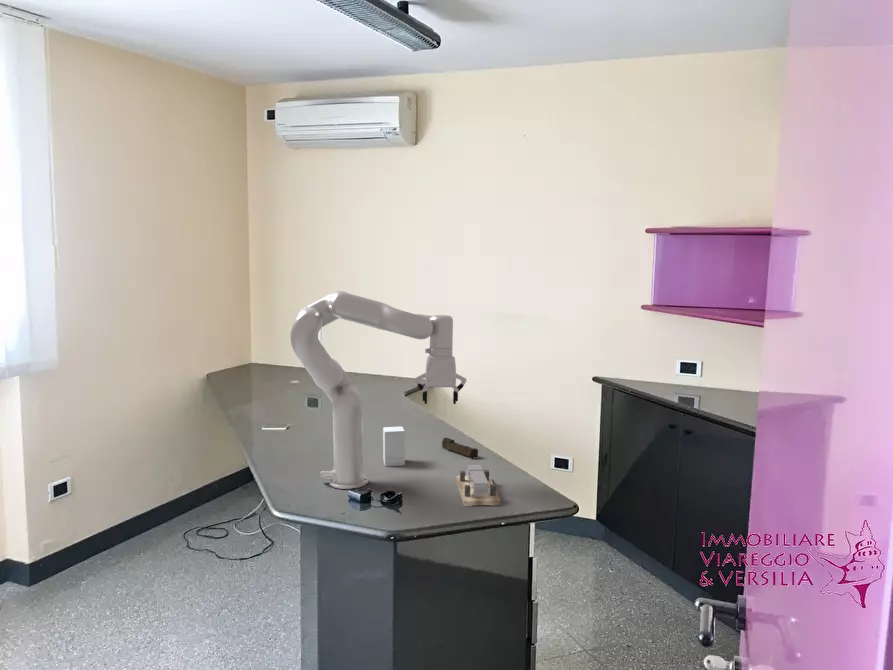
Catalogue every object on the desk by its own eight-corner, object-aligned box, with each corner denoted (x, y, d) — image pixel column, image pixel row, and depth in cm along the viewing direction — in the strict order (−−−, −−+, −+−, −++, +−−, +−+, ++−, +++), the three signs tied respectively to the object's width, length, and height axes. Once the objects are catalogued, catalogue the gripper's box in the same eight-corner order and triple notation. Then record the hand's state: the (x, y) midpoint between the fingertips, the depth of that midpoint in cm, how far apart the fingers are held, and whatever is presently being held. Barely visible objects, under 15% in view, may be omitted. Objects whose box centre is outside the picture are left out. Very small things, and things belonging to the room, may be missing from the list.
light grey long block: (473, 497, 204) (473, 483, 204) (466, 478, 222) (466, 465, 222) (488, 497, 205) (488, 482, 204) (480, 477, 223) (480, 464, 222)
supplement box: (405, 465, 241) (405, 431, 240) (384, 466, 240) (384, 431, 238) (403, 459, 248) (402, 425, 247) (383, 460, 247) (382, 426, 246)
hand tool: (478, 458, 251) (479, 446, 250) (470, 460, 248) (470, 447, 248) (447, 447, 266) (448, 435, 265) (439, 448, 263) (439, 437, 263)
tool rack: (464, 506, 201) (464, 491, 201) (456, 480, 225) (456, 467, 225) (500, 505, 202) (500, 490, 202) (488, 479, 226) (489, 466, 225)
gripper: (415, 353, 219) (414, 405, 221) (468, 354, 220) (466, 405, 222) (414, 350, 227) (414, 400, 229) (466, 351, 228) (464, 401, 230)
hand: (440, 403), depth 226 cm, fingers open, 9 cm apart
